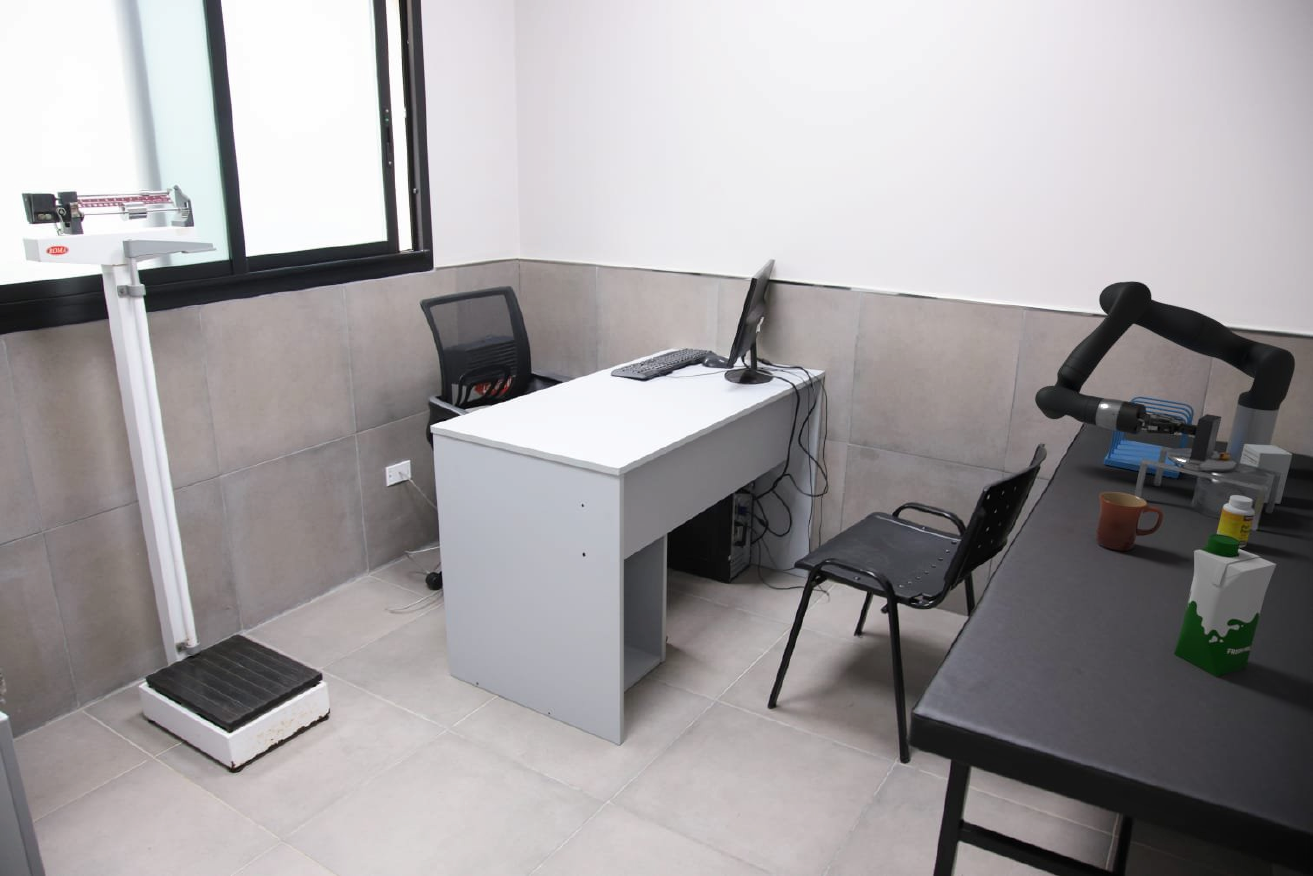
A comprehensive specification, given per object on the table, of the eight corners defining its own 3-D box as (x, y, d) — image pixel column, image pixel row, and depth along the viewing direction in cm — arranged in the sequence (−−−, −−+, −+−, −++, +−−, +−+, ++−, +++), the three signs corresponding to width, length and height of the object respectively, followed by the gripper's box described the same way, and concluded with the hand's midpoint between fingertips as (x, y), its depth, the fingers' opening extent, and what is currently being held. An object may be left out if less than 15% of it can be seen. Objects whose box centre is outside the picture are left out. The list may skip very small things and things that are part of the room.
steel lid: (1157, 461, 202) (1166, 417, 199) (1178, 448, 214) (1187, 406, 210) (1224, 476, 193) (1235, 430, 190) (1242, 462, 204) (1252, 418, 201)
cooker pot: (1133, 499, 208) (1141, 459, 205) (1154, 484, 219) (1162, 446, 216) (1255, 530, 191) (1266, 487, 188) (1272, 512, 202) (1282, 471, 199)
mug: (1090, 548, 178) (1099, 502, 175) (1090, 534, 186) (1098, 488, 183) (1157, 560, 174) (1167, 513, 171) (1153, 545, 181) (1163, 499, 178)
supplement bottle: (1238, 551, 180) (1249, 504, 177) (1209, 541, 184) (1220, 496, 181) (1251, 545, 183) (1262, 500, 180) (1222, 536, 187) (1233, 491, 184)
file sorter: (1176, 480, 223) (1189, 422, 219) (1102, 465, 233) (1113, 410, 228) (1186, 457, 243) (1198, 403, 238) (1117, 444, 252) (1127, 393, 248)
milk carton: (1201, 642, 143) (1228, 529, 137) (1256, 670, 135) (1287, 552, 129) (1164, 652, 139) (1190, 537, 134) (1218, 681, 131) (1249, 560, 126)
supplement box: (1263, 493, 215) (1275, 444, 211) (1280, 504, 208) (1293, 454, 204) (1231, 491, 215) (1243, 443, 212) (1248, 502, 208) (1260, 452, 205)
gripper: (1113, 405, 208) (1194, 420, 197) (1132, 396, 217) (1210, 411, 206) (1108, 435, 211) (1188, 452, 199) (1126, 425, 220) (1204, 441, 208)
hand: (1199, 431), depth 202 cm, fingers closed
